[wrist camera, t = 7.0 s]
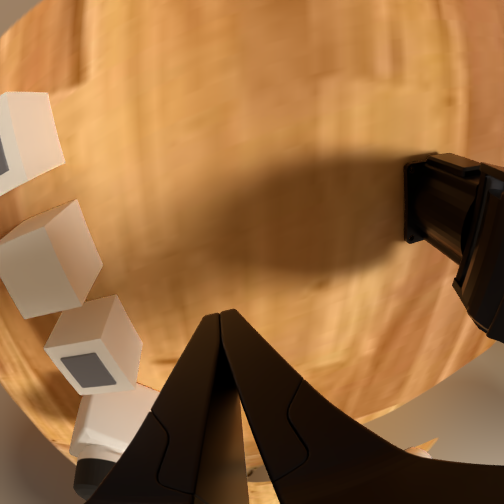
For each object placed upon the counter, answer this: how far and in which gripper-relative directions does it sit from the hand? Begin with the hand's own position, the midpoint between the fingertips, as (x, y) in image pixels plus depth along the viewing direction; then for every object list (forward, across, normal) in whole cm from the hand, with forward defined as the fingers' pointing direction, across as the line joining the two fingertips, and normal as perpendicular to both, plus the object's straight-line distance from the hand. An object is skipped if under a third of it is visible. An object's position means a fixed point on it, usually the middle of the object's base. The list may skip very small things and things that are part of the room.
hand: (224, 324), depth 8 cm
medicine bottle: (+12, +14, +16) cm, 25 cm away
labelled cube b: (+12, +11, -8) cm, 18 cm away
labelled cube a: (+12, +11, +8) cm, 18 cm away
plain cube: (+12, +11, 0) cm, 16 cm away
